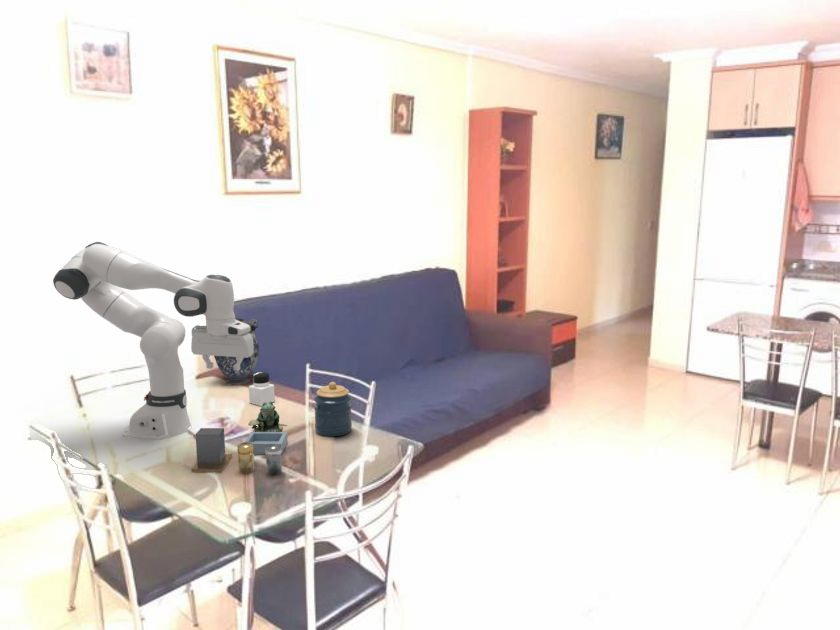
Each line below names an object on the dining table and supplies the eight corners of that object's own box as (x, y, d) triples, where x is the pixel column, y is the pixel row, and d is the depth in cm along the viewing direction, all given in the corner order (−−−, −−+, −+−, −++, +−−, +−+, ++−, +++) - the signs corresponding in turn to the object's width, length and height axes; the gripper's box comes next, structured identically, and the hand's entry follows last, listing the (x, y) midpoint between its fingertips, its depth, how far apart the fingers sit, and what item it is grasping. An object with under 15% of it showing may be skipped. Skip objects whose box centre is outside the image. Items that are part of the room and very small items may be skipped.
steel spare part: (264, 475, 187) (263, 449, 185) (268, 468, 191) (267, 443, 190) (280, 475, 187) (279, 449, 185) (283, 468, 191) (282, 443, 190)
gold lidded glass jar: (236, 473, 188) (235, 448, 186) (241, 467, 192) (239, 442, 191) (252, 473, 188) (251, 448, 186) (256, 467, 192) (255, 442, 191)
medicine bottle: (275, 401, 252) (274, 372, 250) (261, 406, 247) (260, 377, 244) (262, 398, 256) (261, 370, 254) (249, 403, 250) (247, 374, 248)
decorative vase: (251, 373, 292) (248, 313, 286) (270, 382, 278) (267, 320, 272) (205, 382, 278) (202, 319, 273) (223, 392, 264) (219, 326, 259)
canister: (309, 427, 225) (308, 379, 222) (342, 421, 231) (342, 374, 228) (323, 439, 214) (322, 389, 211) (358, 432, 220) (357, 384, 217)
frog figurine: (242, 446, 209) (241, 412, 207) (237, 427, 225) (235, 396, 223) (296, 438, 215) (295, 406, 213) (287, 421, 232) (286, 391, 230)
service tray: (243, 454, 202) (243, 443, 201) (251, 441, 212) (251, 432, 211) (281, 454, 202) (281, 443, 201) (287, 442, 212) (287, 432, 211)
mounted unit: (191, 472, 188) (189, 437, 186) (203, 457, 199) (201, 424, 197) (221, 472, 188) (219, 437, 186) (232, 457, 199) (230, 424, 197)
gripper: (185, 327, 198) (188, 369, 201) (245, 330, 194) (247, 373, 196) (197, 323, 204) (199, 364, 207) (255, 326, 200) (257, 368, 202)
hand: (223, 369), depth 201 cm, fingers open, 8 cm apart
